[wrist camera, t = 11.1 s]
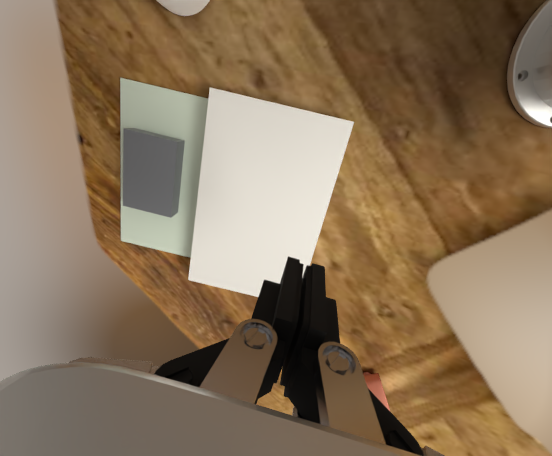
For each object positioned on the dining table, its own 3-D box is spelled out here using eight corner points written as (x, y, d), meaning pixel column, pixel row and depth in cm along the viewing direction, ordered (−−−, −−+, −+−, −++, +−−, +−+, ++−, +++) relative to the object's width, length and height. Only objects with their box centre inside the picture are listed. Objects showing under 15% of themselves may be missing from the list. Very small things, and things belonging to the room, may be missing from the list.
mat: (123, 78, 30) (120, 77, 29) (215, 100, 30) (214, 100, 29) (123, 239, 37) (120, 240, 37) (196, 257, 37) (195, 258, 37)
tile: (177, 141, 29) (184, 140, 31) (123, 128, 29) (134, 127, 31) (170, 217, 33) (178, 212, 34) (122, 205, 33) (132, 201, 34)
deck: (221, 91, 29) (209, 87, 26) (347, 121, 29) (354, 121, 25) (199, 264, 38) (188, 279, 34) (297, 288, 37) (296, 306, 34)
